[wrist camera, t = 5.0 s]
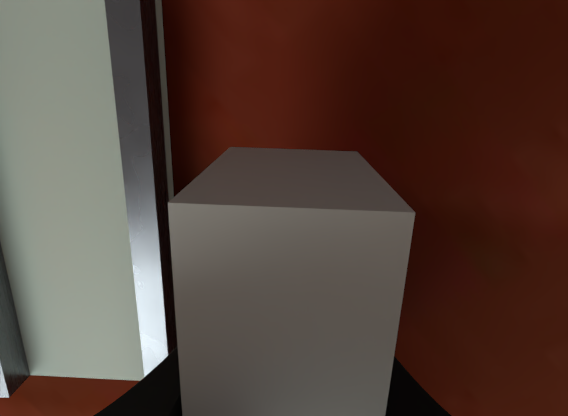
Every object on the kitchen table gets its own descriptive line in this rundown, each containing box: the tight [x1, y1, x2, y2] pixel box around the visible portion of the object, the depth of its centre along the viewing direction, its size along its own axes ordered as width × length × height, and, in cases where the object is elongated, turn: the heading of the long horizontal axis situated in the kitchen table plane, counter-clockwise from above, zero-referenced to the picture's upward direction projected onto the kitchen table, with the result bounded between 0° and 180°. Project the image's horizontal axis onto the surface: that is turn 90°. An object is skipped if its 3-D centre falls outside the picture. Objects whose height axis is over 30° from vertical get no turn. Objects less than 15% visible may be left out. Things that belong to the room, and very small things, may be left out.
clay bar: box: [168, 147, 415, 416], centre depth 11 cm, size 12×4×6 cm, turn 178°
